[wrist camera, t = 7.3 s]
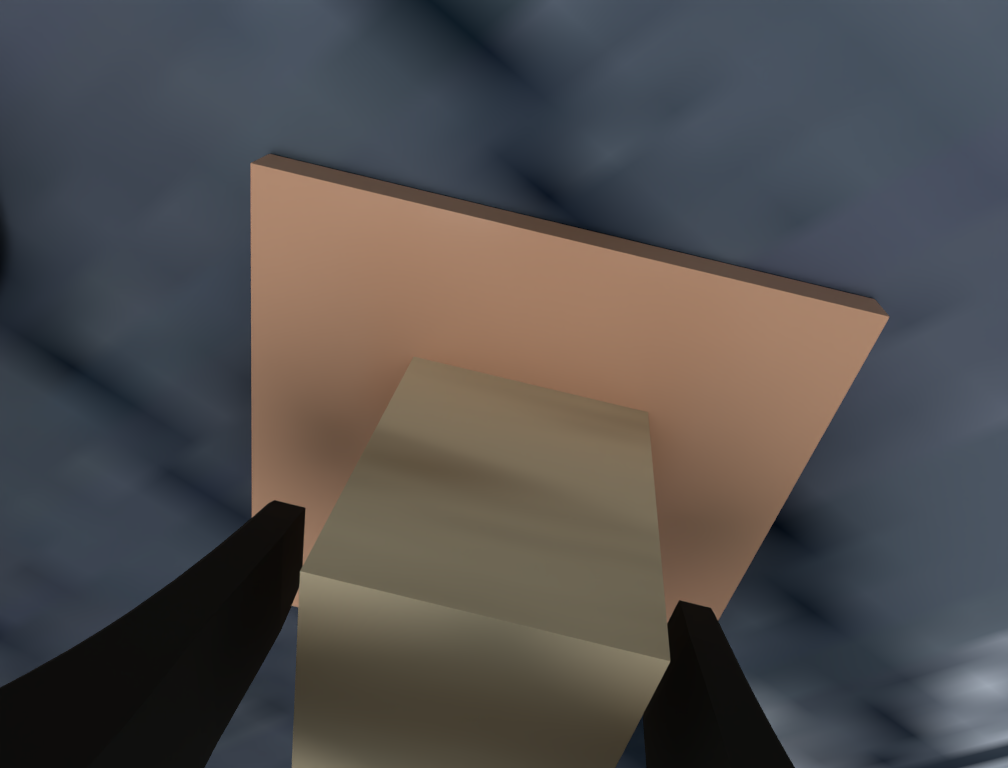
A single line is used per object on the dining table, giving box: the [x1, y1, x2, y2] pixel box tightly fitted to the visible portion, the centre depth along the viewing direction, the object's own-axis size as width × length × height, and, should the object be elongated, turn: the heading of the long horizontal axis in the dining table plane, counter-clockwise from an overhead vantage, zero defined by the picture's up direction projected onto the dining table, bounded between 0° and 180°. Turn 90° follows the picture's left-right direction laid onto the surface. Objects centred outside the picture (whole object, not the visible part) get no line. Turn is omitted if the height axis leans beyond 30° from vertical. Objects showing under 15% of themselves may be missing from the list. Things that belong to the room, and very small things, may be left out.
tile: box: [251, 154, 889, 623], centre depth 16 cm, size 12×12×1 cm
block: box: [292, 357, 670, 768], centre depth 13 cm, size 5×5×6 cm
